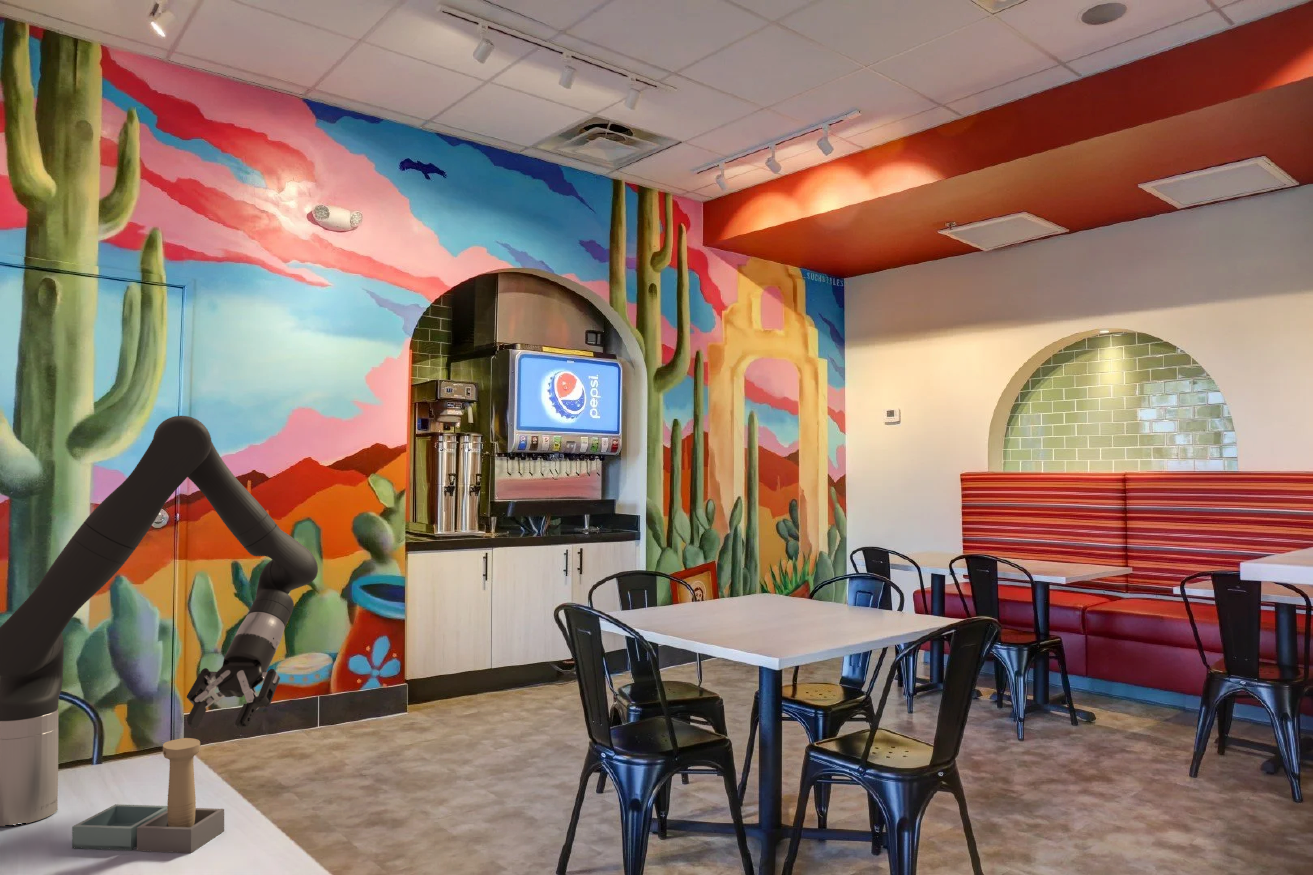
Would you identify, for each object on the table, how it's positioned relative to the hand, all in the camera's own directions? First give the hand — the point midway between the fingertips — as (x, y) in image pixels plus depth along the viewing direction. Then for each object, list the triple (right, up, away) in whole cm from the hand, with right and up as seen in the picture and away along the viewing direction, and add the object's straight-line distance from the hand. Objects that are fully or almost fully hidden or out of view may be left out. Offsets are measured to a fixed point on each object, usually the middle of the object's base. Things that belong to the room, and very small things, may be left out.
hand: (215, 726), depth 144 cm
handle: (-1, -15, -9) cm, 18 cm away
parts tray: (-11, -15, -7) cm, 20 cm away
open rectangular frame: (-1, -15, -9) cm, 17 cm away
